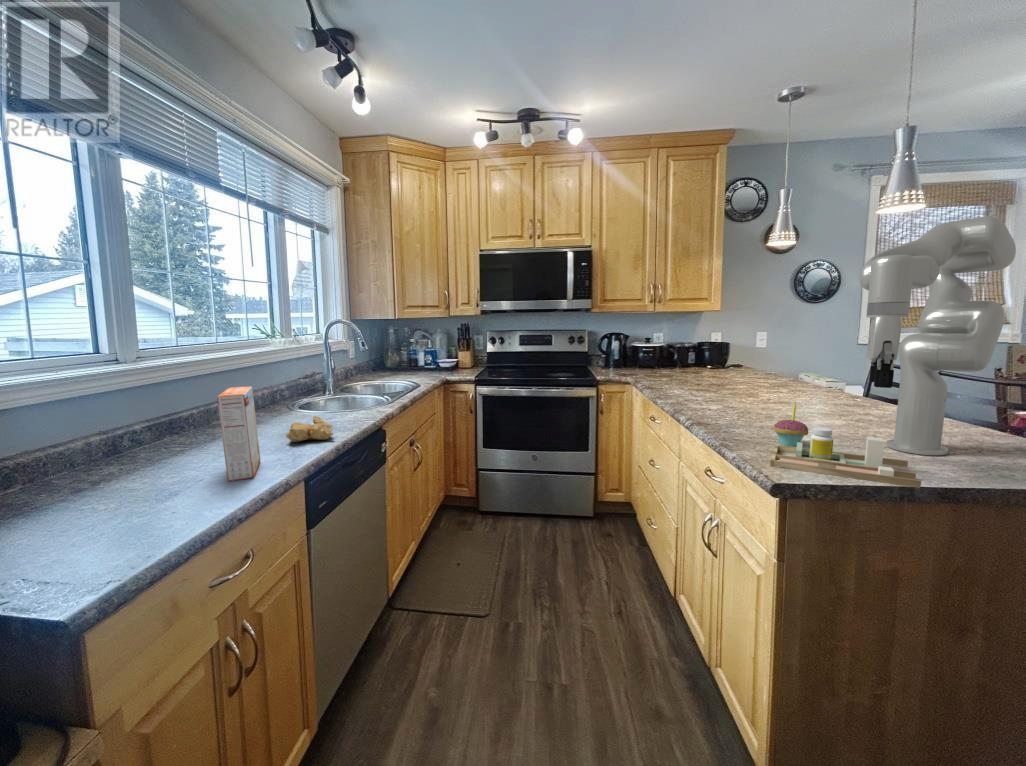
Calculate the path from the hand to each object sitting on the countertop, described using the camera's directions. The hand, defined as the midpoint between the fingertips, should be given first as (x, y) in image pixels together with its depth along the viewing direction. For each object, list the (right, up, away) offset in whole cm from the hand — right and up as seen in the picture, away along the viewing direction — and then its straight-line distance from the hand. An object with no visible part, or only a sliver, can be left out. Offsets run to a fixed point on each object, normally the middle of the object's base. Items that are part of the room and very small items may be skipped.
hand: (880, 384), depth 105 cm
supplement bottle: (-8, -20, +9) cm, 23 cm away
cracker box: (-154, -22, +8) cm, 156 cm away
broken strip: (-11, -21, +1) cm, 23 cm away
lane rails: (-7, -20, +4) cm, 22 cm away
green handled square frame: (-5, -20, +7) cm, 21 cm away
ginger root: (-151, -18, +38) cm, 157 cm away
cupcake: (-6, -18, +24) cm, 30 cm away
